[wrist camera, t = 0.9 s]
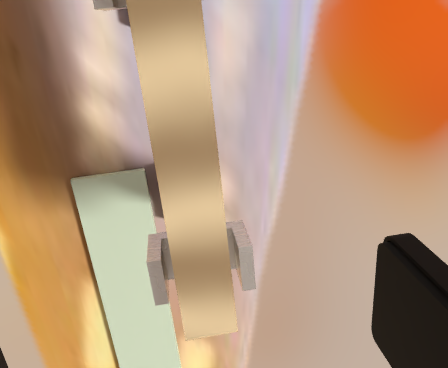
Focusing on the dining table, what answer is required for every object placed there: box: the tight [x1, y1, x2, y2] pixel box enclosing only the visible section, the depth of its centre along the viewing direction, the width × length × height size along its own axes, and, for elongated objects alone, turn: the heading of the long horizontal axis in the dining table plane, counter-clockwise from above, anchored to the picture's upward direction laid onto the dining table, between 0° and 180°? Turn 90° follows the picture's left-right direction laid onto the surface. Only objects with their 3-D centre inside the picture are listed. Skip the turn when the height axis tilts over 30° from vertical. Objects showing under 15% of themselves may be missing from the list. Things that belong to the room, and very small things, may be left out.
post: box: [146, 220, 256, 306], centre depth 30 cm, size 5×6×13 cm
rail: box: [126, 0, 238, 341], centre depth 21 cm, size 22×3×4 cm, turn 6°
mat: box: [70, 168, 182, 368], centre depth 38 cm, size 23×6×1 cm, turn 6°
